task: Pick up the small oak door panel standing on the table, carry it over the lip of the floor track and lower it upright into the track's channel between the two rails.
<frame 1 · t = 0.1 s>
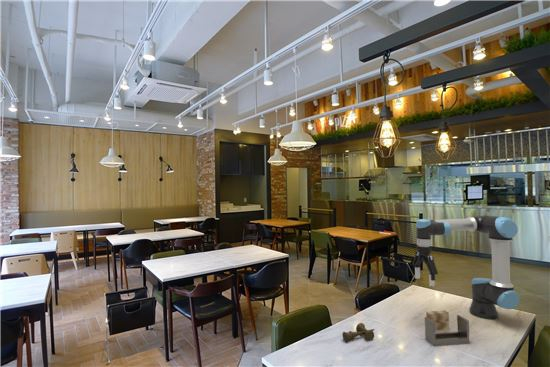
hand: (424, 281, 169), 28 cm above the table, fingers open, 13 cm apart
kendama: (359, 338, 161), on the table
track: (447, 341, 156), on the table
door panel: (437, 329, 169), on the table
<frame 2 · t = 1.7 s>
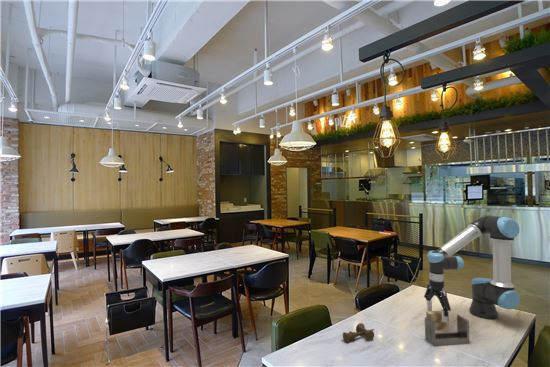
hand: (436, 316, 169), 7 cm above the table, fingers open, 13 cm apart
nothing on the table moved.
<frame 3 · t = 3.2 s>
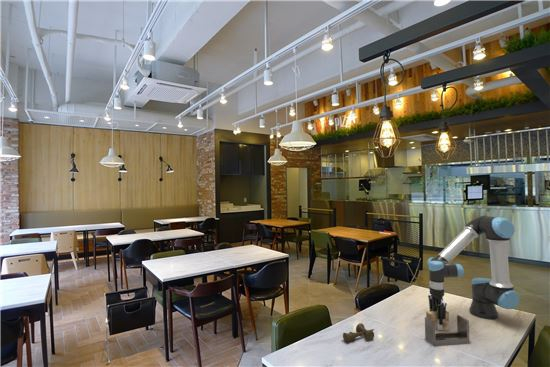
hand: (437, 327, 169), 1 cm above the table, fingers closed on door panel, 3 cm apart
door panel: (437, 329, 169), on the table, touching gripper
everything else where it was.
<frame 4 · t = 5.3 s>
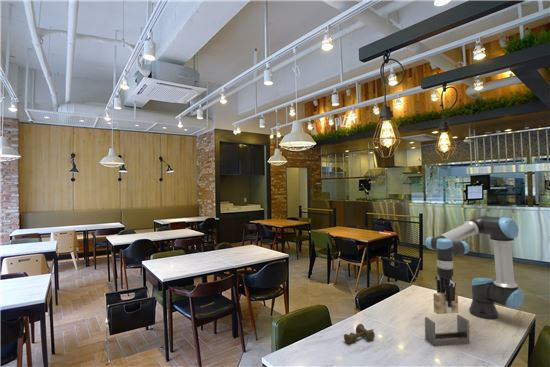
hand: (446, 311, 156), 16 cm above the table, fingers closed on door panel, 3 cm apart
door panel: (446, 312, 156), point 16 cm above the table, touching gripper
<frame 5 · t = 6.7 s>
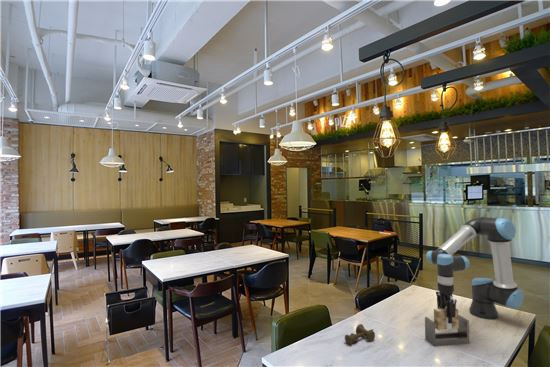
hand: (446, 326, 156), 8 cm above the table, fingers closed on door panel, 3 cm apart
door panel: (446, 328, 156), point 7 cm above the table, touching gripper
when the fingers open (4 cm above the table, at t = 7.7 s): door panel drops 2 cm, resting on track.
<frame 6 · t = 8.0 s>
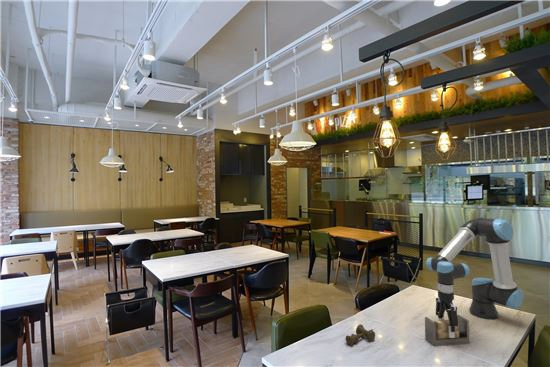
hand: (446, 333, 156), 4 cm above the table, fingers open, 7 cm apart
door panel: (446, 339, 156), point 1 cm above the table, touching track
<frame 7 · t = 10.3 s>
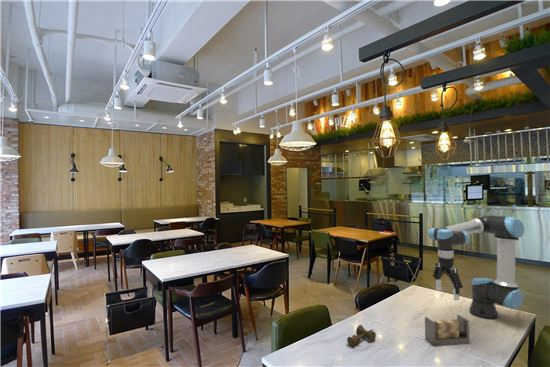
hand: (447, 295, 161), 23 cm above the table, fingers open, 13 cm apart
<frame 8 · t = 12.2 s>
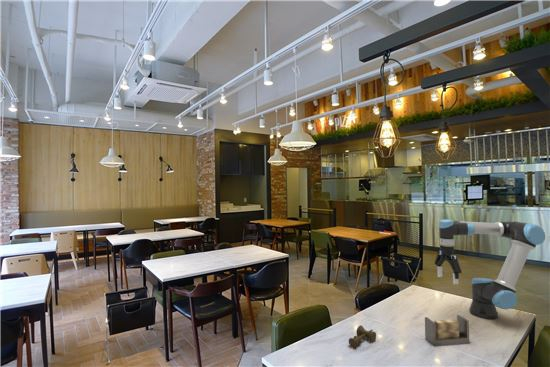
hand: (447, 280, 174), 27 cm above the table, fingers open, 13 cm apart
at the end: door panel 0.0 cm off-centre on the track, point 0.8 cm above the track's base; door panel tilted 0°; the gripper is holding nothing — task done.
